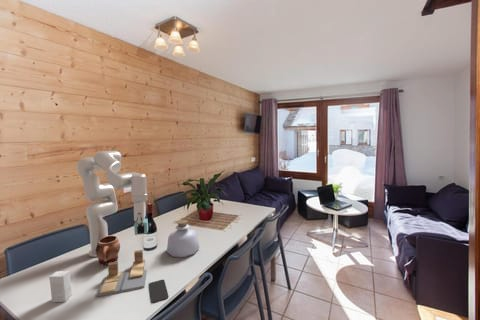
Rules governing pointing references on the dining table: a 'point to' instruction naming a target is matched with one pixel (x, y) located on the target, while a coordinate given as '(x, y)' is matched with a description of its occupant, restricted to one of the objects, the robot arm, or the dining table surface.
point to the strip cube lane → (137, 265)
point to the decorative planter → (107, 249)
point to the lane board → (122, 284)
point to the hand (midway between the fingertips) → (141, 230)
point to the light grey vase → (182, 241)
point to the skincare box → (60, 286)
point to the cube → (145, 223)
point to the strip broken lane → (108, 279)
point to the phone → (158, 291)
